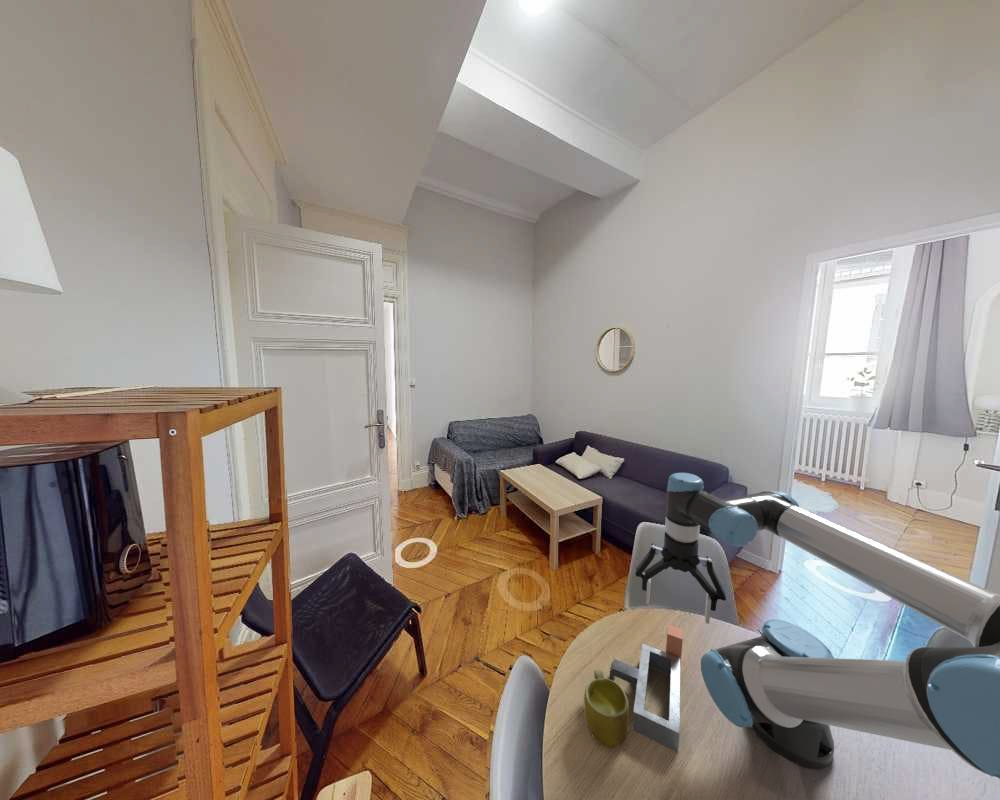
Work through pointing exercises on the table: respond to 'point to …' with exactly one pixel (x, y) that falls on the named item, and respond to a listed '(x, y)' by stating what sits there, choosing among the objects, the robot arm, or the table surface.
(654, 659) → the hollow metal rectangle ring
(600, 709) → the mug
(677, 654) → the terracotta clay brick
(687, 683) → the table surface
